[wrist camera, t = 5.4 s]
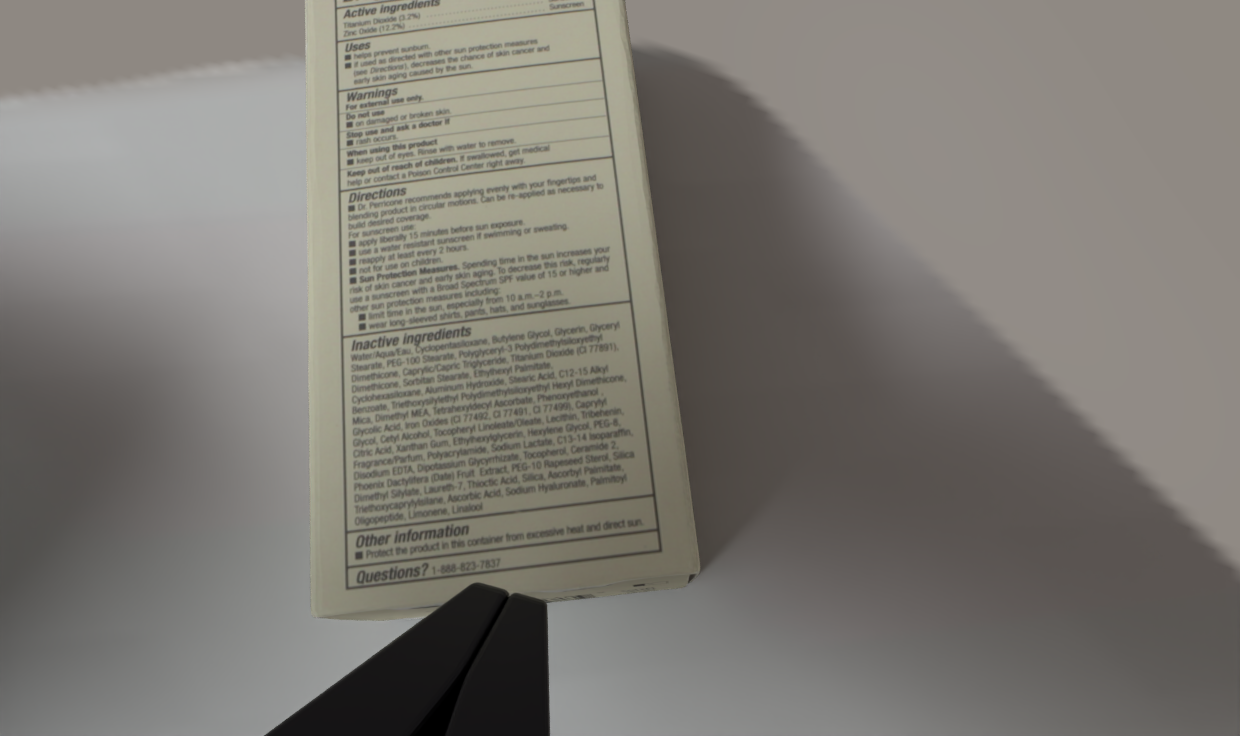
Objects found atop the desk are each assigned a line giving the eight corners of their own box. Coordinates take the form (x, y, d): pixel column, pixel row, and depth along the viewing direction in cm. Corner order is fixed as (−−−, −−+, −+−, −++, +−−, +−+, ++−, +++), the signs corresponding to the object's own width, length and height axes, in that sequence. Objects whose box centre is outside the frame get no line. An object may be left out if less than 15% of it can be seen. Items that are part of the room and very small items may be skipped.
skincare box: (695, 593, 17) (636, 68, 20) (705, 581, 12) (626, -81, 16) (379, 623, 17) (375, 97, 20) (281, 623, 13) (298, -41, 16)
